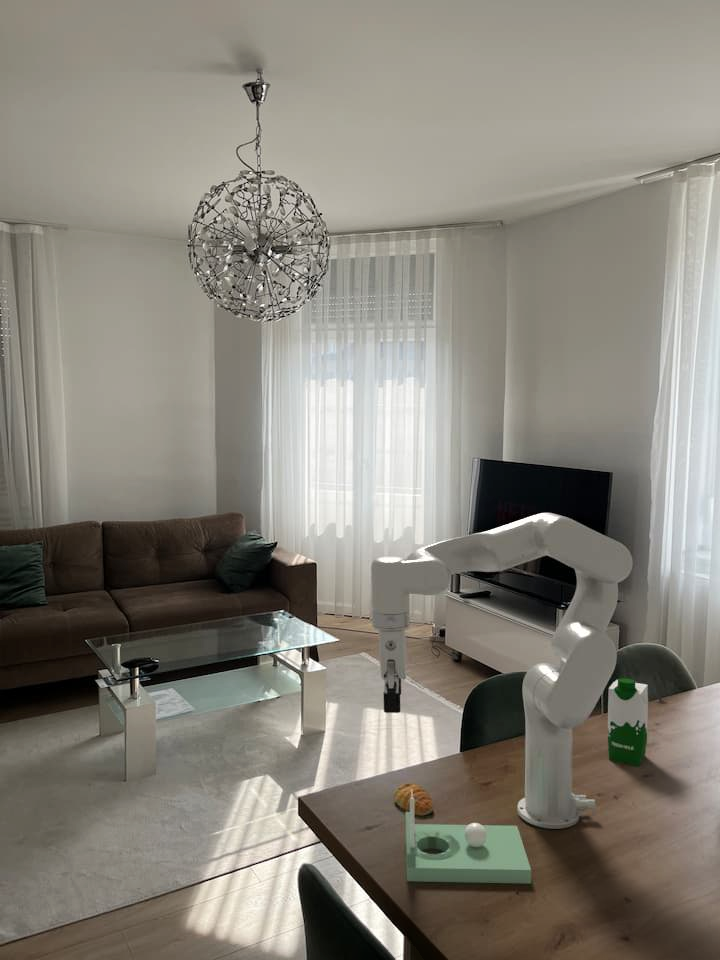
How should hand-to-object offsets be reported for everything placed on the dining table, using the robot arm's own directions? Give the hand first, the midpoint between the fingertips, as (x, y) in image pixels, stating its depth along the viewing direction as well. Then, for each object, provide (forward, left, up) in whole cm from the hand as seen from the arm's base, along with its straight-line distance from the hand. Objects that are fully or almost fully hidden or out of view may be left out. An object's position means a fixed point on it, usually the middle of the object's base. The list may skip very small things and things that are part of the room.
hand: (392, 703), depth 151 cm
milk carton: (-57, -34, -26) cm, 72 cm away
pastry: (-5, -9, -26) cm, 28 cm away
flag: (-3, +14, -26) cm, 30 cm away
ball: (-15, +11, -21) cm, 28 cm away
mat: (-13, +11, -26) cm, 31 cm away
